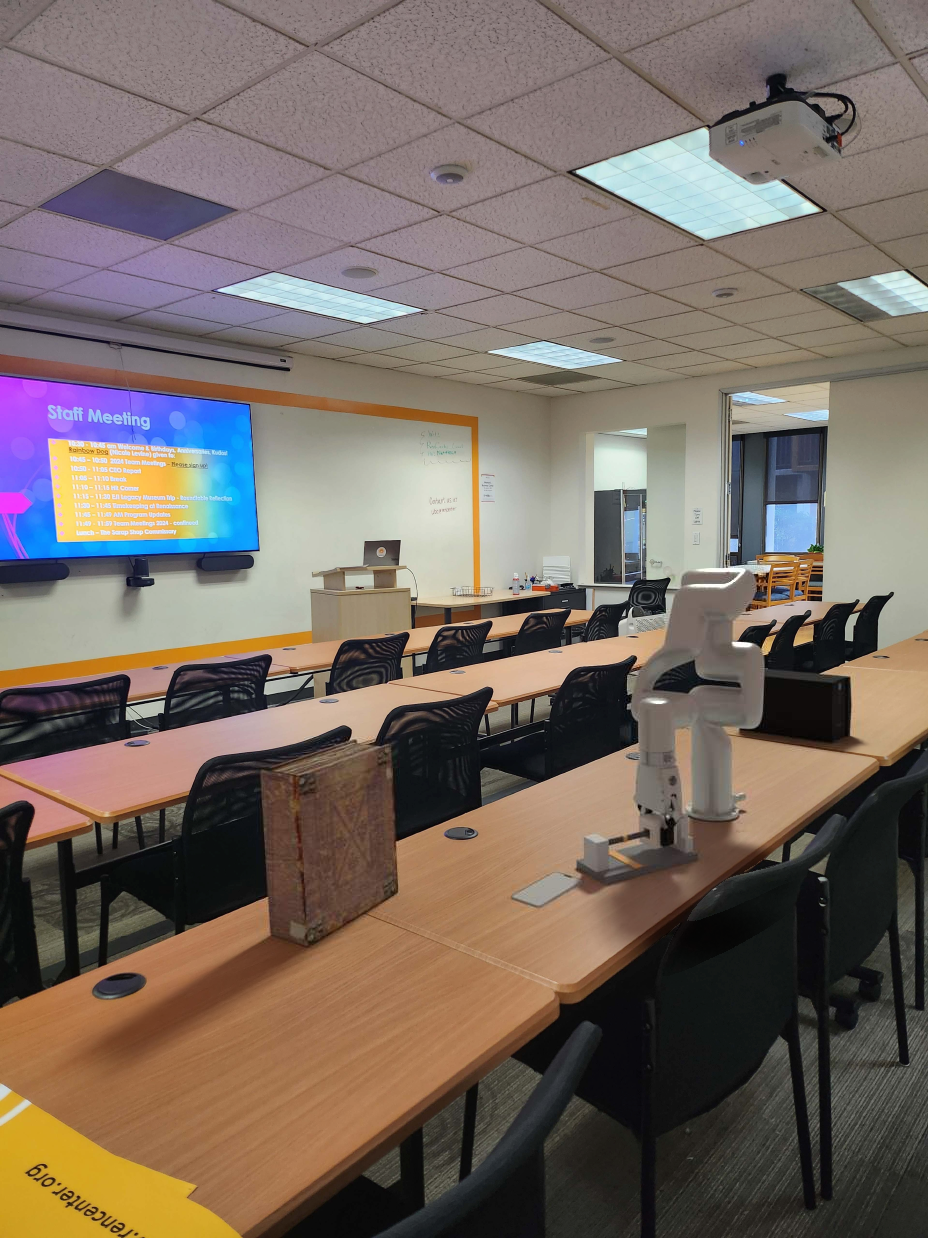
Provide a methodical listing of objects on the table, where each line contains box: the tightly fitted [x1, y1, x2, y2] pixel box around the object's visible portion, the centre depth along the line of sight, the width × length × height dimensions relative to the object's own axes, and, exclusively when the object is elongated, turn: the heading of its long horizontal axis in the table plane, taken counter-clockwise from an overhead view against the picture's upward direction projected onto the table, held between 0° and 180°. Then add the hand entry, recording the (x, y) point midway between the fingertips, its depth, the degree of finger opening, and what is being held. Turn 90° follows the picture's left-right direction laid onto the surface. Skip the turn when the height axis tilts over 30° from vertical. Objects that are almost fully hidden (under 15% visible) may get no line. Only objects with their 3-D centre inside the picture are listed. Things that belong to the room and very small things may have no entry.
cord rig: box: [576, 810, 699, 885], centre depth 168 cm, size 24×10×10 cm, turn 117°
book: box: [259, 739, 399, 948], centre depth 149 cm, size 25×9×30 cm, turn 147°
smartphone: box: [510, 871, 584, 908], centre depth 157 cm, size 7×1×15 cm
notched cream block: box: [638, 811, 677, 849], centre depth 170 cm, size 6×5×6 cm
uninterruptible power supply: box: [737, 668, 853, 745], centre depth 275 cm, size 16×34×20 cm, turn 44°
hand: (658, 840), depth 171 cm, fingers open, 5 cm apart
